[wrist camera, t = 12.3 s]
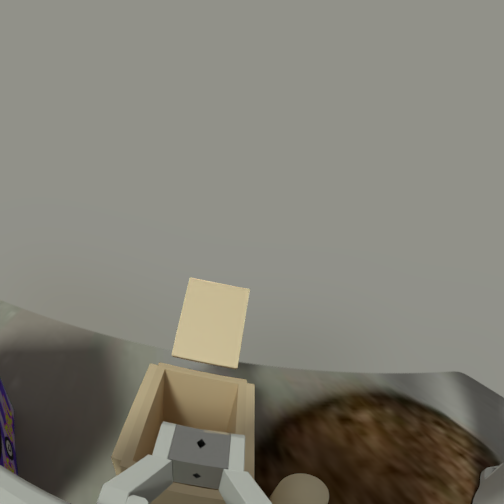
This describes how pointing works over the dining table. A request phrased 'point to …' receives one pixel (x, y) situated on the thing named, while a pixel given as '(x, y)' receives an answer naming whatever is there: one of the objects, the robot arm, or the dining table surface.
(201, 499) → the carton
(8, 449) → the toy
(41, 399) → the dining table surface
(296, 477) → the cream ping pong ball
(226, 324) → the flap
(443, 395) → the dining table surface
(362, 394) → the dining table surface
